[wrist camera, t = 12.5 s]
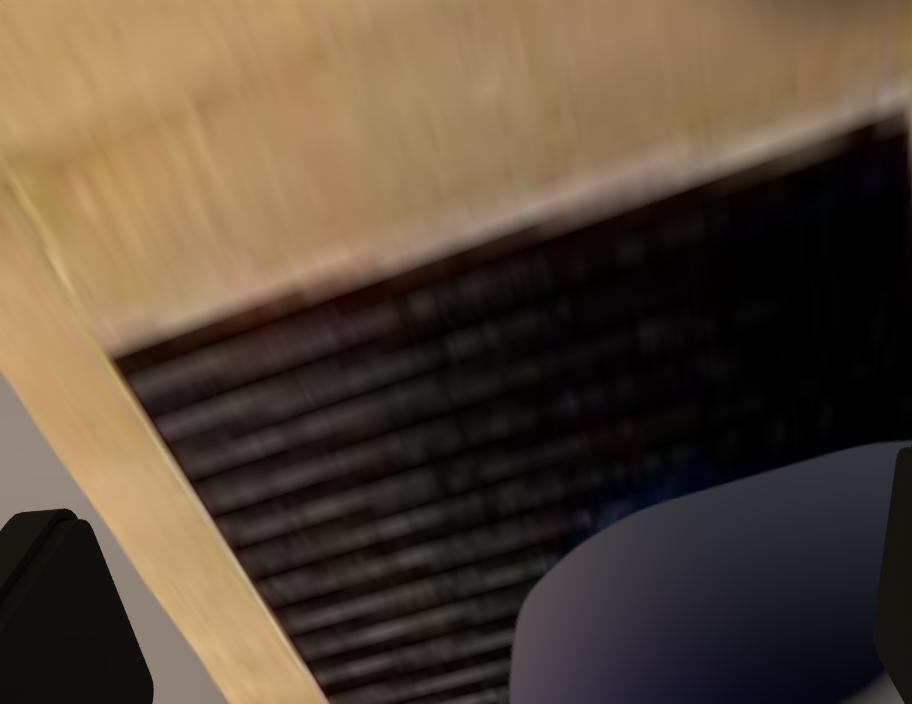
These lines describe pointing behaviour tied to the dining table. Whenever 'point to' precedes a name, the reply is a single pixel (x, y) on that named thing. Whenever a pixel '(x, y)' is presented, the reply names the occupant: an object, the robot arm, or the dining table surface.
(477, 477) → the dining table surface
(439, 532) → the dining table surface
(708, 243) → the dining table surface
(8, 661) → the robot arm
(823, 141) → the dining table surface
